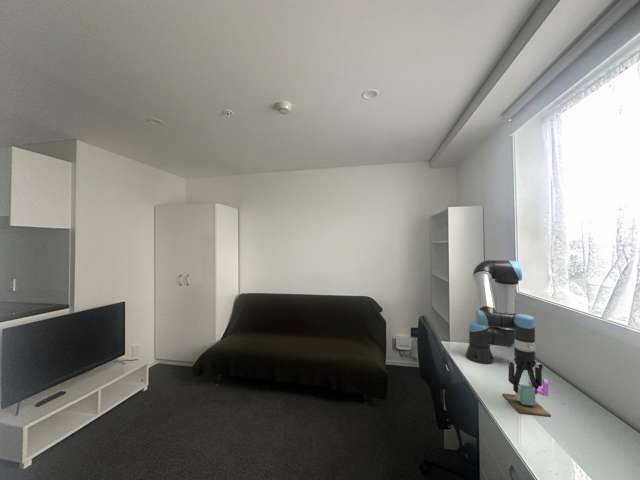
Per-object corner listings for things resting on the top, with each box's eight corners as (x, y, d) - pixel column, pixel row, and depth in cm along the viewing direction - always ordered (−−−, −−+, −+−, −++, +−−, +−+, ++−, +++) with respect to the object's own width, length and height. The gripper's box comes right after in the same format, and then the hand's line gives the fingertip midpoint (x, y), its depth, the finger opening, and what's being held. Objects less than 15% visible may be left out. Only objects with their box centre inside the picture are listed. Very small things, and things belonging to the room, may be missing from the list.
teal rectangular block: (515, 397, 121) (515, 383, 121) (528, 399, 120) (527, 384, 120) (522, 404, 116) (522, 389, 116) (535, 405, 115) (535, 390, 115)
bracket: (548, 395, 126) (548, 381, 126) (533, 392, 129) (533, 378, 129) (541, 383, 137) (541, 370, 137) (528, 380, 140) (528, 367, 140)
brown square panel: (502, 395, 126) (502, 379, 126) (529, 397, 124) (529, 381, 124) (519, 413, 112) (519, 395, 112) (550, 416, 110) (550, 398, 110)
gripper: (507, 350, 116) (507, 402, 116) (552, 354, 113) (553, 407, 113) (498, 344, 124) (499, 393, 123) (541, 347, 121) (541, 397, 120)
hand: (525, 399), depth 118 cm, fingers closed on teal rectangular block, 5 cm apart
